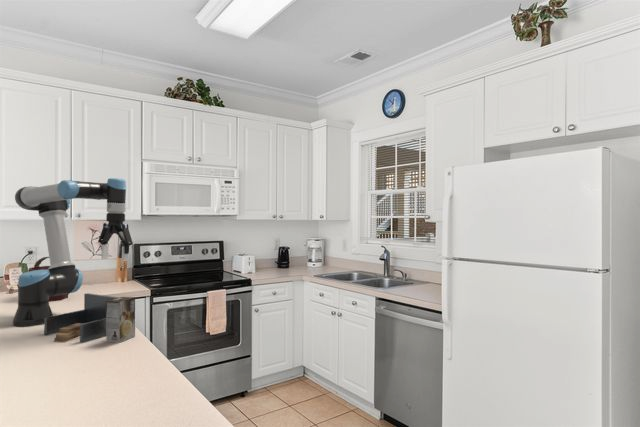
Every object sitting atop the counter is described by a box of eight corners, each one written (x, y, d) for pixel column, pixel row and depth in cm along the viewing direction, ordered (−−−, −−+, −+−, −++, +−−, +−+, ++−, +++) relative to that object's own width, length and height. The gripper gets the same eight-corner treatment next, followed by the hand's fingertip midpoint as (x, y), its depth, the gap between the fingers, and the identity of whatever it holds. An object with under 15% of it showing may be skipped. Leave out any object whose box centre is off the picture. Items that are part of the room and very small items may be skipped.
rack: (44, 334, 168) (44, 300, 168) (87, 324, 185) (87, 293, 185) (82, 342, 158) (82, 306, 158) (124, 330, 175) (124, 298, 175)
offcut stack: (76, 333, 172) (76, 322, 172) (88, 333, 171) (88, 323, 171) (53, 341, 160) (53, 330, 160) (66, 342, 159) (66, 331, 159)
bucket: (80, 298, 242) (80, 256, 242) (38, 305, 223) (39, 259, 223) (59, 294, 255) (60, 254, 255) (18, 300, 236) (19, 257, 236)
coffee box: (121, 335, 168) (122, 296, 168) (135, 336, 167) (135, 297, 167) (105, 342, 159) (105, 300, 159) (119, 343, 158) (120, 301, 158)
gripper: (90, 212, 186) (89, 258, 186) (127, 213, 175) (126, 262, 175) (105, 212, 193) (104, 257, 193) (142, 213, 182) (140, 261, 182)
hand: (114, 259), depth 184 cm, fingers open, 13 cm apart
